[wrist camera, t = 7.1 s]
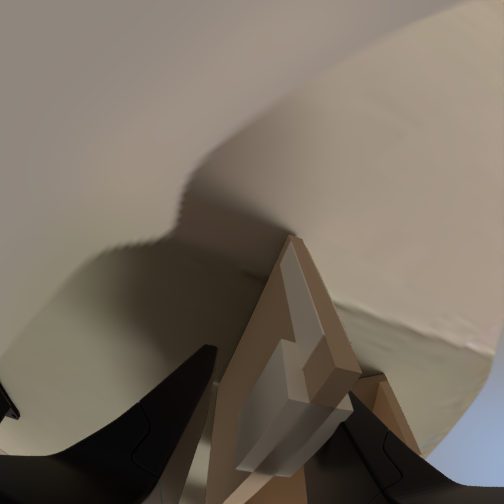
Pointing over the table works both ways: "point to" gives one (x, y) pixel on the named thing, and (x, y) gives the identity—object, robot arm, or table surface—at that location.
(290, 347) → the end flap
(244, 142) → the table surface
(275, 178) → the table surface
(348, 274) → the table surface
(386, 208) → the table surface
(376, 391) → the carton
